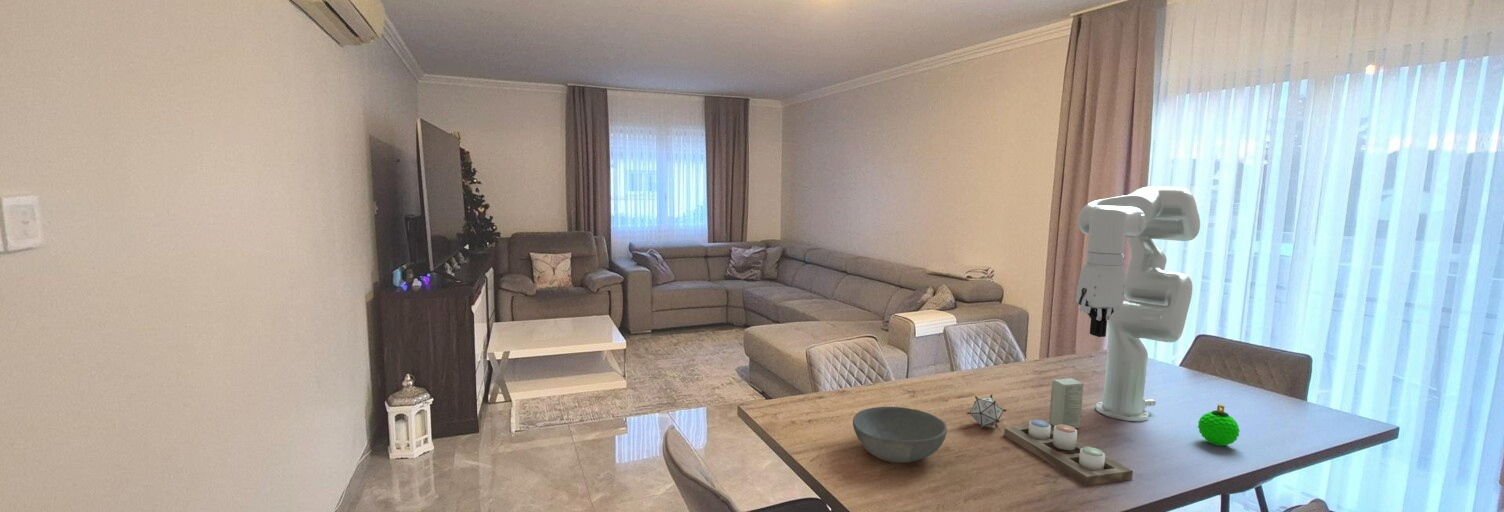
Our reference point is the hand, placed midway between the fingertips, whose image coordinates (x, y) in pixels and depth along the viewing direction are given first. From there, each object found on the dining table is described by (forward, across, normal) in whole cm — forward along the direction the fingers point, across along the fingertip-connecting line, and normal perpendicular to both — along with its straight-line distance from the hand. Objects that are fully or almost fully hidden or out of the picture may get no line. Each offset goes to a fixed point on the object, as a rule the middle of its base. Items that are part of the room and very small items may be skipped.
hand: (1097, 335), depth 146 cm
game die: (+27, +19, -14) cm, 36 cm away
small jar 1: (+26, +12, -3) cm, 29 cm away
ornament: (+27, -31, +8) cm, 42 cm away
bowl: (+27, +50, -3) cm, 57 cm away
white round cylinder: (+26, +12, +13) cm, 32 cm away
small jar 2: (+24, +12, +5) cm, 28 cm away
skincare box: (+27, -2, -10) cm, 29 cm away
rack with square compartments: (+27, +12, +5) cm, 30 cm away
